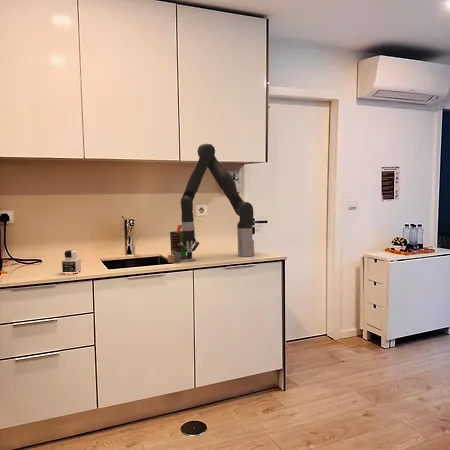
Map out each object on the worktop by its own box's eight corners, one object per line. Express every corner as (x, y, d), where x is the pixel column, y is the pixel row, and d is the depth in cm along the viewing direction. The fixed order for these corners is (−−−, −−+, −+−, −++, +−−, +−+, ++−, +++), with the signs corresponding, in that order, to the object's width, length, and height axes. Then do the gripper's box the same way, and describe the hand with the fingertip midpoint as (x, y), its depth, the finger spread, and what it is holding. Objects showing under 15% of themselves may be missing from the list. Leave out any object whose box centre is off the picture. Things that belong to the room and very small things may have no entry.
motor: (168, 257, 261) (166, 225, 259) (176, 255, 269) (175, 224, 267) (181, 258, 256) (180, 225, 254) (189, 255, 264) (188, 224, 262)
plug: (185, 260, 249) (185, 253, 248) (187, 261, 245) (187, 254, 244) (167, 261, 245) (167, 254, 244) (169, 262, 241) (169, 255, 241)
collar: (191, 258, 254) (190, 248, 253) (196, 261, 242) (195, 251, 242) (172, 260, 250) (172, 250, 249) (176, 263, 239) (176, 252, 238)
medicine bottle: (62, 274, 215) (61, 251, 214) (68, 271, 222) (66, 249, 221) (76, 274, 215) (74, 251, 214) (81, 271, 222) (80, 249, 221)
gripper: (197, 228, 251) (198, 256, 253) (175, 229, 247) (177, 258, 249) (200, 229, 244) (202, 258, 246) (178, 230, 240) (180, 260, 242)
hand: (189, 258), depth 247 cm, fingers closed
